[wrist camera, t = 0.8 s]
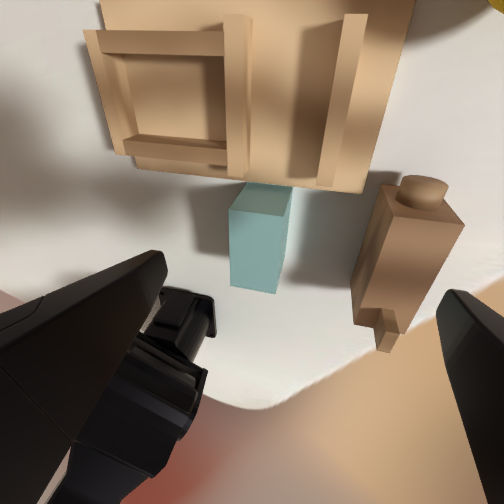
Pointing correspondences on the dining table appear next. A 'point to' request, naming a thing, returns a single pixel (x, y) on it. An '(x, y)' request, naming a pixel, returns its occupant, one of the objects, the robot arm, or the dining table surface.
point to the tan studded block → (401, 255)
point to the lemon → (497, 5)
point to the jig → (250, 86)
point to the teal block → (258, 235)
